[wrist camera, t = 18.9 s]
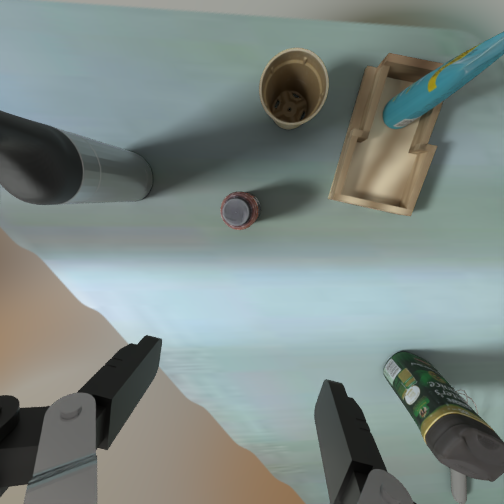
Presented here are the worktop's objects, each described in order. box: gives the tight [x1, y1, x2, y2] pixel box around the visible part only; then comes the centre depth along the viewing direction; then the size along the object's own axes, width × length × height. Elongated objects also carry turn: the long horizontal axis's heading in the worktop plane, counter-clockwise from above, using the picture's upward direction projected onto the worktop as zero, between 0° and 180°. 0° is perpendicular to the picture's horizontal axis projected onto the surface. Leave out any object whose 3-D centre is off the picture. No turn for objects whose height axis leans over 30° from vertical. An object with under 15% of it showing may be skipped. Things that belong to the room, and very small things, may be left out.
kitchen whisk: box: [450, 387, 478, 504], centre depth 51 cm, size 6×34×6 cm, turn 15°
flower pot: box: [259, 48, 329, 130], centre depth 37 cm, size 9×9×9 cm
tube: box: [382, 32, 504, 129], centre depth 29 cm, size 7×5×19 cm, turn 129°
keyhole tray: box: [328, 53, 443, 216], centre depth 38 cm, size 13×21×5 cm, turn 168°
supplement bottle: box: [221, 192, 261, 230], centre depth 40 cm, size 6×6×11 cm
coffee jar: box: [383, 352, 504, 482], centre depth 41 cm, size 10×8×19 cm
